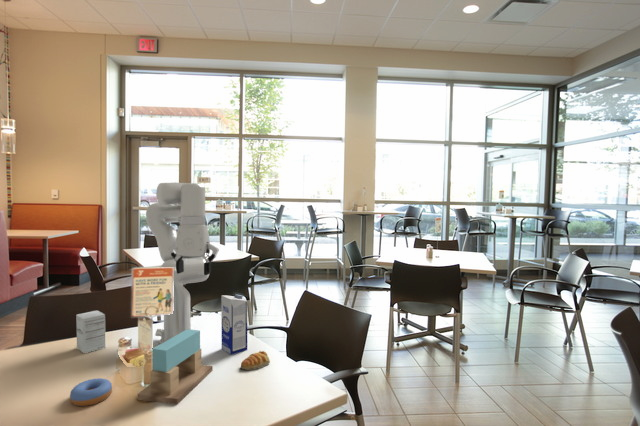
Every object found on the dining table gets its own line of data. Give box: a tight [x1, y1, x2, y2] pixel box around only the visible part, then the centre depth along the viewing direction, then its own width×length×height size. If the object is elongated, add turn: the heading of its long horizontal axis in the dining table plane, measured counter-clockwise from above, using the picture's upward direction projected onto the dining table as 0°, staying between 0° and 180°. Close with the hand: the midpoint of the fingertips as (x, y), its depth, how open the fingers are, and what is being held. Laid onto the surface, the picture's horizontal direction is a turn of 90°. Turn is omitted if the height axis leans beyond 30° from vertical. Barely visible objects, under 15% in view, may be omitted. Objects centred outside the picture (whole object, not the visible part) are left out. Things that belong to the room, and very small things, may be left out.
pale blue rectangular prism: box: [151, 329, 201, 372], centre depth 112 cm, size 4×16×6 cm, turn 164°
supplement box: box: [75, 310, 107, 354], centre depth 137 cm, size 7×7×13 cm
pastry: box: [240, 350, 271, 371], centre depth 125 cm, size 9×7×4 cm
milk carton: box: [220, 294, 248, 355], centre depth 137 cm, size 7×7×20 cm
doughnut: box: [69, 377, 113, 407], centre depth 104 cm, size 10×10×5 cm
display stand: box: [137, 347, 214, 405], centre depth 112 cm, size 12×20×8 cm, turn 169°
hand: (193, 273), depth 124 cm, fingers open, 9 cm apart
